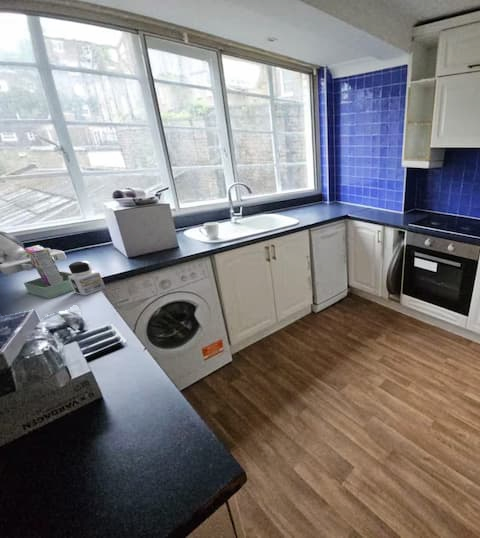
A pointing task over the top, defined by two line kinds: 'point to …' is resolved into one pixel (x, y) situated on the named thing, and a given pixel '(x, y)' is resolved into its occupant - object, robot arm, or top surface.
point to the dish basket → (49, 287)
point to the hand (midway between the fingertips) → (43, 263)
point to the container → (84, 278)
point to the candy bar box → (44, 265)
